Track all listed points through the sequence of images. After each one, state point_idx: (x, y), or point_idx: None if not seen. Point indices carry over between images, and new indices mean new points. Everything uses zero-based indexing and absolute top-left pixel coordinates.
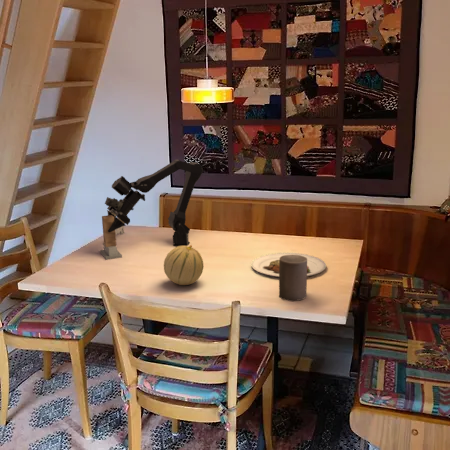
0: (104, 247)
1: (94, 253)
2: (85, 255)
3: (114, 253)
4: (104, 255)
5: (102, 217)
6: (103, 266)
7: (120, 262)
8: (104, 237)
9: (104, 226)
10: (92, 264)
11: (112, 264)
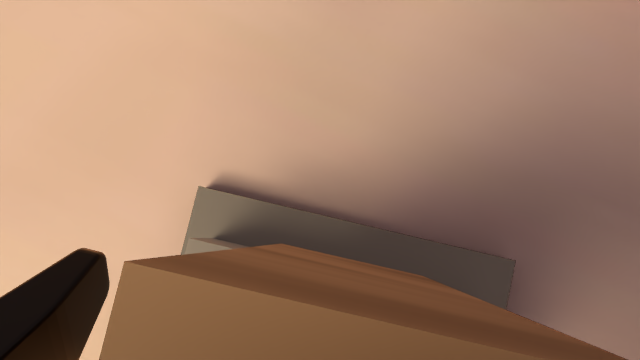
0: None
1: (513, 191)
2: (507, 82)
3: None
4: (283, 207)
5: (553, 356)
6: (24, 66)
7: (13, 263)
8: (364, 267)
9: (266, 258)
10: (161, 10)
11: (15, 166)
